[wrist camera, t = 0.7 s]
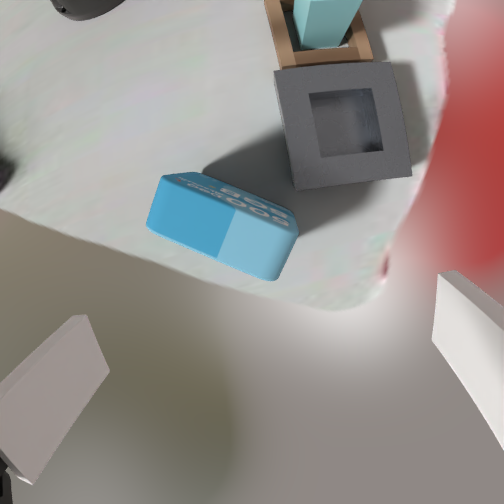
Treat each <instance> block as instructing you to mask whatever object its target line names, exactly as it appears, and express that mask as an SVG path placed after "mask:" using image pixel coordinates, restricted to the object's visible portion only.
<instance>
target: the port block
mask: <svg viewBox="0 0 504 504" xmlns="http://www.w3.org/2000/svg"><path fill="white" fill-rule="evenodd" d="M274 85H275V90H276V95H277V99H278V104H279V109H280V114H281V119H282V124H283V130H284V135H285V140H286V146H287V151H288V157H289V162H290V168H291V174H292V179H293V185H294V188H295V190H296V191H301V190H307V189H314V188H321V187H328V186H335V185H343V184H350V183H358V182H366V181H374V180H383V179H391V178H400V177H410V176H412V169H411V161H410V154H409V148H408V141H407V135H406V129H405V124H404V118H403V113H402V108H401V103H400V99H399V94H398V90H397V86H396V81H395V77H394V73H393V70H392V66H391V62H362V63H342V64H329V65H317V66H308V67H299V68H291V69H284V70H277V71H274Z"/></svg>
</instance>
